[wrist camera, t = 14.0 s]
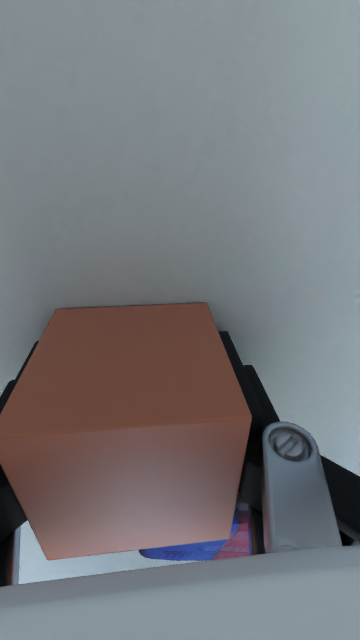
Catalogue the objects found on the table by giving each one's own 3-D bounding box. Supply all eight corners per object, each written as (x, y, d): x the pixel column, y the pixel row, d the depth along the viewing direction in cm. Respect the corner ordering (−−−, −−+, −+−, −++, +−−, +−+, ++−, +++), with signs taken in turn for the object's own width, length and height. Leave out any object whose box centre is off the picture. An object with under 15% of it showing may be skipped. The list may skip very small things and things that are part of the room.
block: (80, 415, 12) (46, 561, 8) (55, 308, 10) (-15, 438, 5) (200, 406, 13) (229, 539, 8) (207, 301, 10) (253, 416, 6)
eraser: (332, 499, 18) (350, 532, 16) (295, 534, 20) (309, 566, 18) (156, 481, 15) (159, 520, 13) (132, 524, 16) (131, 563, 15)
